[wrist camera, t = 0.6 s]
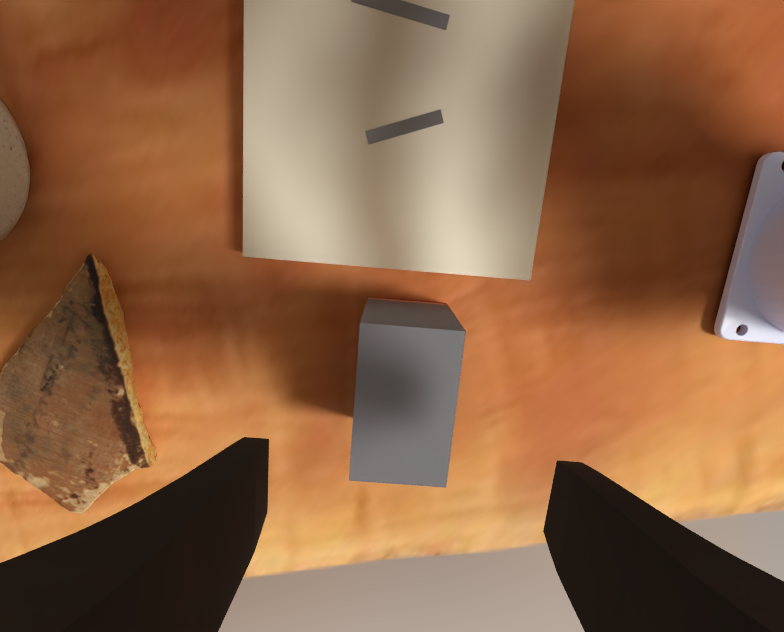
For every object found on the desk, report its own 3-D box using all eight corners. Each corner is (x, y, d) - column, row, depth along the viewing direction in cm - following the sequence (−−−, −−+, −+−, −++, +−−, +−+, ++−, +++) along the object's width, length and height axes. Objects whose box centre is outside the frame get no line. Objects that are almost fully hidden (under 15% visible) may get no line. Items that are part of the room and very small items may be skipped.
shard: (112, 250, 19) (84, 253, 17) (246, 359, 20) (232, 373, 18) (-14, 414, 20) (-52, 432, 19) (116, 506, 22) (92, 531, 20)
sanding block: (446, 303, 19) (465, 331, 14) (432, 423, 20) (445, 487, 15) (367, 296, 19) (359, 322, 14) (359, 418, 20) (349, 480, 15)
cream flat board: (594, -196, 15) (611, -233, 14) (521, 276, 19) (530, 280, 17) (256, -233, 15) (244, -274, 13) (252, 254, 18) (242, 256, 17)
